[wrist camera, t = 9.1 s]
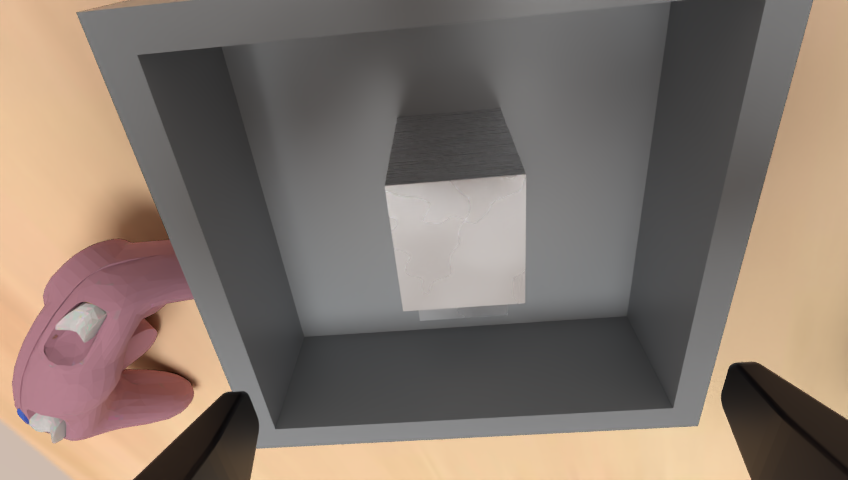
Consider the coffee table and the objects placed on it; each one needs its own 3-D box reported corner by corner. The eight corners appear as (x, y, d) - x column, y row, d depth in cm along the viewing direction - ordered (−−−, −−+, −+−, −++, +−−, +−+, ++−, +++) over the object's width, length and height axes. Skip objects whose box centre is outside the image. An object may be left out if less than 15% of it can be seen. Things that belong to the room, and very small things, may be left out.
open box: (706, -69, 15) (831, -68, 10) (643, 323, 23) (697, 426, 18) (180, -12, 16) (76, 12, 11) (290, 345, 24) (255, 448, 19)
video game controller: (194, 195, 22) (10, 239, 15) (272, 264, 21) (111, 339, 15) (135, 345, 26) (-26, 426, 20) (197, 406, 25) (50, 509, 19)
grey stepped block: (500, 107, 17) (526, 174, 13) (503, 296, 21) (524, 400, 17) (397, 116, 17) (384, 186, 13) (420, 302, 22) (417, 406, 17)
